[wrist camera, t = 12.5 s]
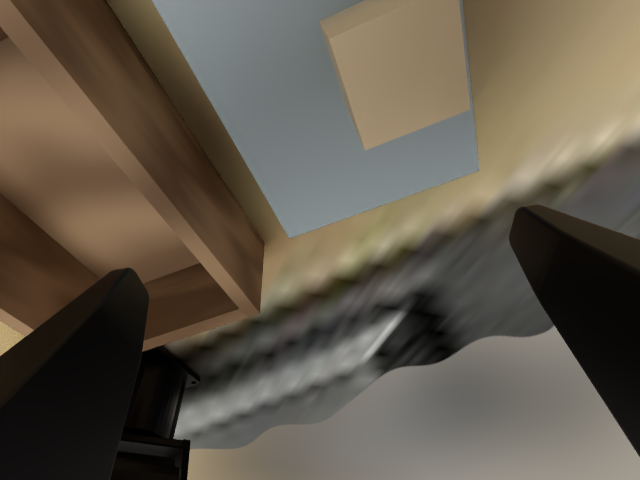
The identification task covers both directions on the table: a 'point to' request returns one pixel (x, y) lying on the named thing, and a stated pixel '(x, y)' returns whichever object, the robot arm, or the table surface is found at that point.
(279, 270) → the table surface
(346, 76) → the lid
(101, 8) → the open wooden box
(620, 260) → the robot arm
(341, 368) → the table surface
